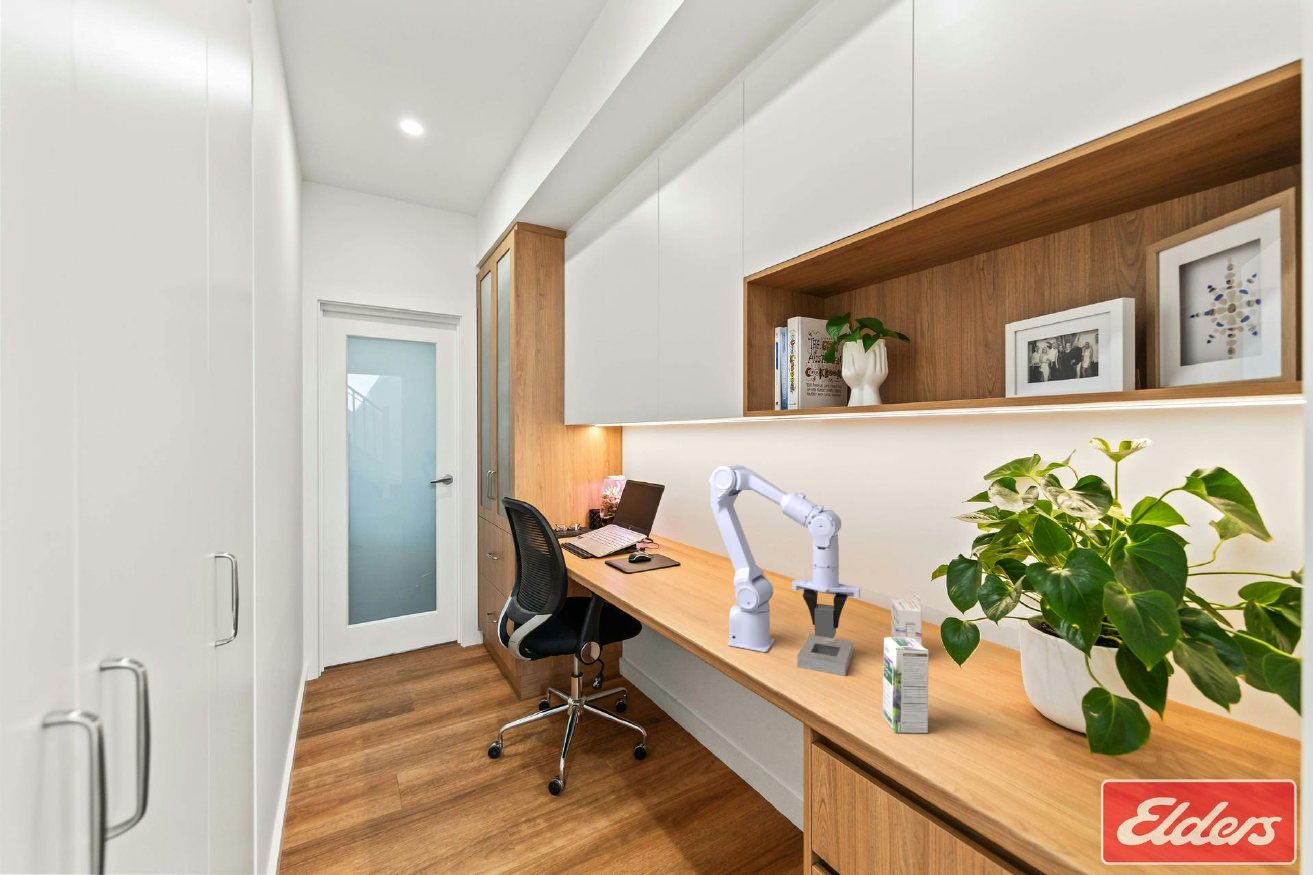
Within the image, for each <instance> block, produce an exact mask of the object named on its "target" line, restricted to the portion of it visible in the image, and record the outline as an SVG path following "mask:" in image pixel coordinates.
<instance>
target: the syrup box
mask: <svg viewBox="0 0 1313 875" xmlns="http://www.w3.org/2000/svg"><path fill="white" fill-rule="evenodd" d="M929 654H930V653H929V649H928V648H925V646H923V644H922V645H921V644H920V643H919V642H917V641H916V640H915V639H914V638H907V637H892V636H887V637H884V638H883V676H882V677H883V683H882V686H883V687H882V689H883V690H882V717H883V718H884V720H885V721H886V722H887V724H888V725H889V727H891V729H892V730H893V732H894V733H895V734H927V733H928V732H929V729H928V728H929V727H928V725H929V724H928V723H929V722H928V721H929V665H930V664H929V660H930V659H929Z"/></svg>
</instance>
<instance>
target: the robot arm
mask: <svg viewBox="0 0 1313 875" xmlns="http://www.w3.org/2000/svg"><path fill="white" fill-rule="evenodd" d="M708 481H709V484H710V496H709V497H710V498H709V499H710V502H709V504H710V508H711V511H712V513H713V516H714V518H715V521H716V524H717V526H718V529H719V532H720V535H721V537H722V539H723V543H724V545H725V548H726V551H727V553H728V556H729V559H730V561H731V564H732V567H733V570H734V572H735V574H734V578H733V587H734V590H735V591H734V592H735V593H734V596H735V602H736V603H737V604H733V605H732V606H731V608H730V611H729V615H728V616H729V618H728V631H729V632H728V646H729V647H735V648H740V649H746V650H751V651H756V652H757V651H758V652H762V653H767V652H768V651H769V650H770V648H771V647H772V645H773V644H774V643H775V640H776V639H774V638H771V636H770V635H771V634H770V633H771V632H770V631H771V630H770V629H771V628H770V626H771V624H770V623H771V620H770V619H771V616H770V615H771V613H770V612H771V611H770V608H771V606H770V600H771V598H772V597H773V595H774V586H773V584H772V582H771V581H770V580H769V578H767V577H766V575H765V572H764V570H763V569H762V568H761V567H760V566H758V565H757V563H756V561H755V559H754V555H753V553H752V551H751V548H750V545H749V543H748V540H747V537H746V535H745V532H744V529H743V527H742V525H741V521H740V520H739V516H738V514H737V511H736V509H735V506H734V504H735V502H736V499H737V498H738V496H739V494H741V492H742V491H752V492H755V493H757V494H758V495H760V496H761V497H763V498H765V499H767V500H768V501H771V502H773V503H774V504H776V505H779V506H780V508H781V512H782V514H783V515H785V516H786V517H788V518H789V519H791V520H793V521H794V522H796V523H798V524H799V525H800V526H802V527H805V528H806V529H808V532H809V534H810V535H811V537H812V539H811V540H812V544H811V554H812V555H811V576H812V577H811V578H812V579H811V580H802V579H793V580H792V582H791V590H792V591H803V593H802V597H803V600H804V602H805V604H806V605H807V609H808V610H809V615H810V618H811V621H812V622H811V623H812V626H815V607H816V606H817V604H818V593H819V594H820V593H821V594H828V595H835V596H834V597H833V606H834V628H836V629H838V628H839V624H840V617H841V614H842V612H843V609H844V606H845V603H846V601H847V599H848V597H852V598H854V599H860V597H861V587H857V586H852V585H848V584H843V583H840V577H839V574H840V572H839V570H840V568H839V567H840V566H839V565H840V563H839V562H840V561H839V560H840V559H839V557H840V556H839V554H840V553H839V550H840V548H839V546H840V545H839V531H840V530H841V528H842V520H841V517H840V516H839V514H838V513H836V512H835V511H834V510H833V509H825V507H824V506H823V505H821V504H820V505H818V504H816V503H815V502H812V501H811V500H809V499H808V498H806V494H804V493H802V492H801V493H797V492H792V493H787V492H785V490H783V489H781V488H780V487H778V486H776V485H775V484H774V483H772V482H770V481H769V480H767V479H766V478H765V477H763V476H761V475H760V474H758V473H757V472H756V471H755V470H753V469H751V468H747V467H746V466H745V465H743V464H739V463H738V464H733V465H721V466H718V467H717V468H716V467H715V469H714V471H713V472H712V474H711V476H710V477H709V480H708Z"/></svg>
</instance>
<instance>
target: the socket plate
mask: <svg viewBox="0 0 1313 875" xmlns="http://www.w3.org/2000/svg"><path fill="white" fill-rule="evenodd" d="M853 654H854V640H848V639H842V638H837V637H835V636H834V638H827V637H821V636H815V634H811V633H810V634H808V636H807V639H805V642H804V643H803V645H802V647H801V648H800V650H799V652H798V654H796V655H797V656H796V660H797V662H796V663H797V664H796V666H797V668H802V669H806V670H807V669H808V670H811V671H817V672H822V673H827V674H833V675H836V676H838V675H839V676H842V677H846V675H847V672H848V668H849V666H850V663H851V661H852V658H853Z"/></svg>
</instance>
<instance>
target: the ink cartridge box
mask: <svg viewBox="0 0 1313 875" xmlns="http://www.w3.org/2000/svg"><path fill="white" fill-rule="evenodd" d="M910 595H911V597H910V598H911V599H909V598H905V599H904V598H891V599H890V600H891V601H890V603H891V604H890V606H891V607H890V608H891V637H907V638H914V639H915V640H916V641H917V642H919V643H920V644H921V645H922V646H923V642H922V638H923V635H922V634H923V633H922V631H923V629H922V628H923V620H922V619H923V618H922V603H921V597H920V596H919V595H918V593H917V592H916V591H915V590H914V589H913V588H912V587H910Z"/></svg>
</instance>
